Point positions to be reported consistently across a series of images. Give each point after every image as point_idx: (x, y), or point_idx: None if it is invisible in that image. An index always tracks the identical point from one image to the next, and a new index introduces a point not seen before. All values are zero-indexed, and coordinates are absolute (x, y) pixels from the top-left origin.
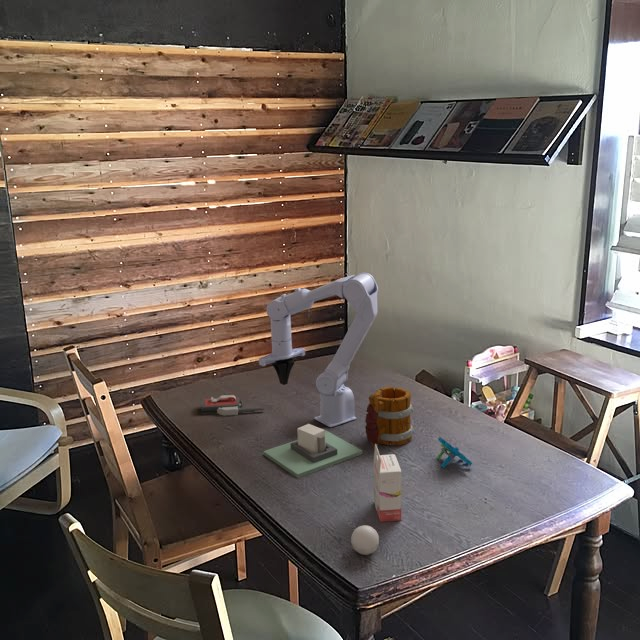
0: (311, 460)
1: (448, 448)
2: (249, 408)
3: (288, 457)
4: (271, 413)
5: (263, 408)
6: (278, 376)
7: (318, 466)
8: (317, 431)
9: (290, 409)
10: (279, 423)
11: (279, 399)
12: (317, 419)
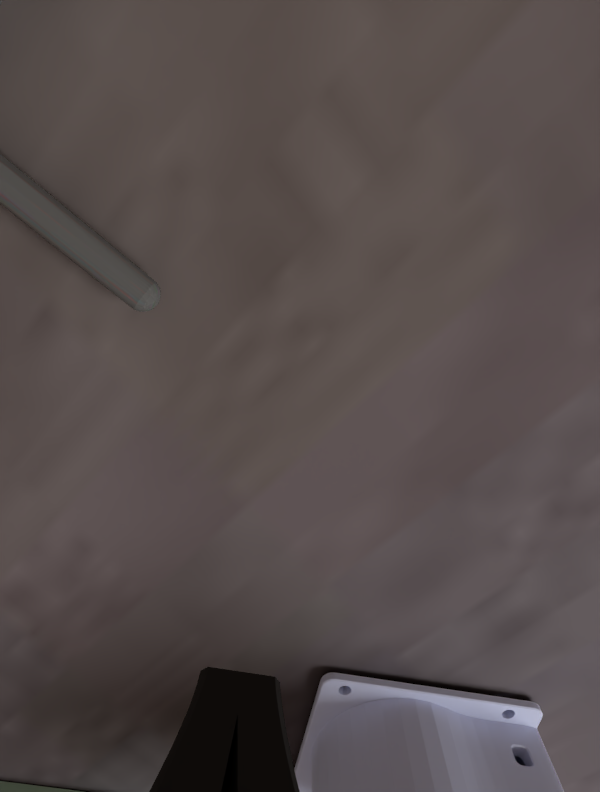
0: None
1: None
2: (11, 196)
3: None
4: (184, 371)
5: (134, 309)
6: (158, 783)
7: None
8: None
9: (355, 435)
10: (106, 550)
11: (487, 170)
12: (314, 709)
